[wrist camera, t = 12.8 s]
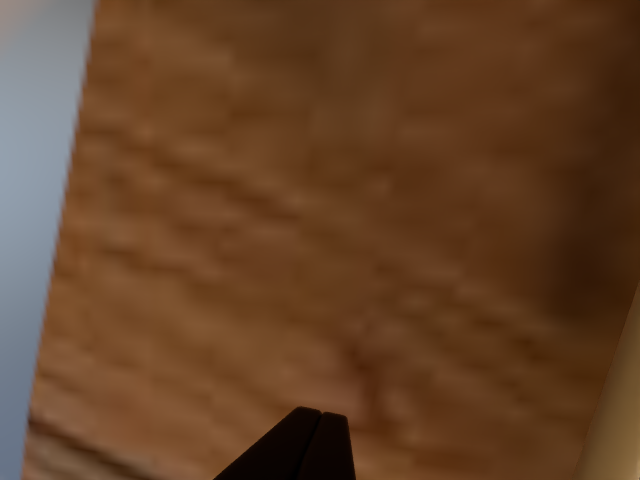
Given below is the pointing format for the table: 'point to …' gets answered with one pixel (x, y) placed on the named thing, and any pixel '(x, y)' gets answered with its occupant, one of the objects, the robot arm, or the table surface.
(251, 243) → the table surface
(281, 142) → the table surface
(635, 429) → the drawer
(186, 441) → the table surface
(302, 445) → the robot arm
